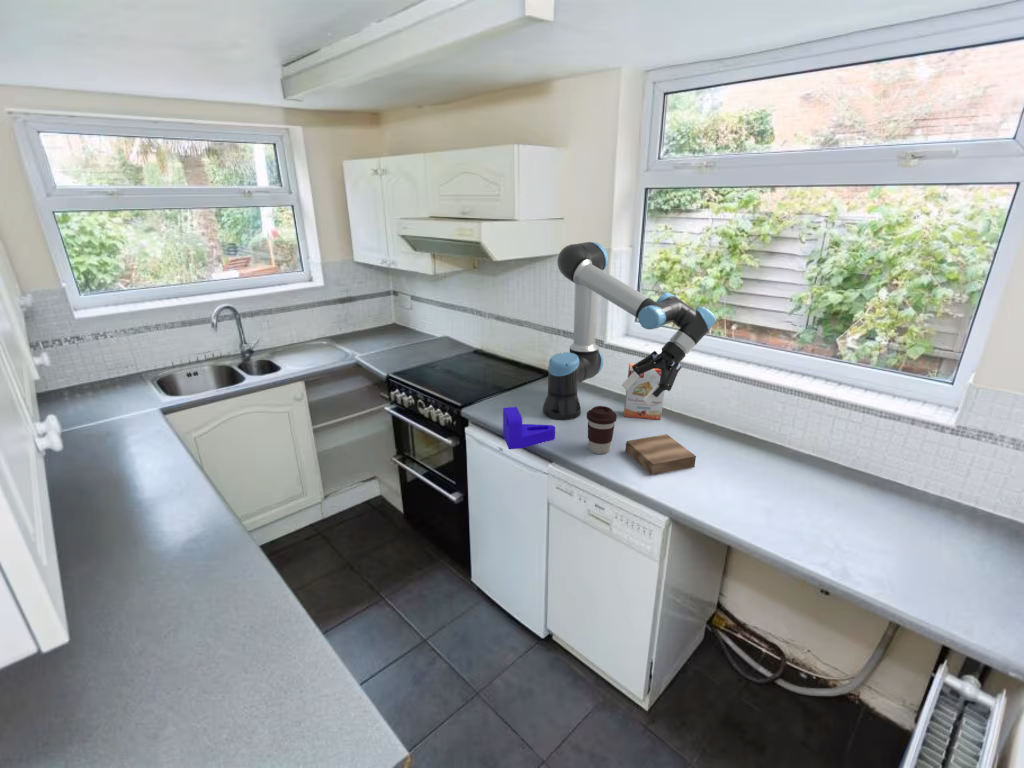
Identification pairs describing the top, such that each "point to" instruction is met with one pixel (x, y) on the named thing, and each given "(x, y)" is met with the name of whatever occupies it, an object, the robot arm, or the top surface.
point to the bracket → (523, 430)
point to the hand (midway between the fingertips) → (634, 394)
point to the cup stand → (660, 454)
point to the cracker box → (643, 396)
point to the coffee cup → (600, 429)
